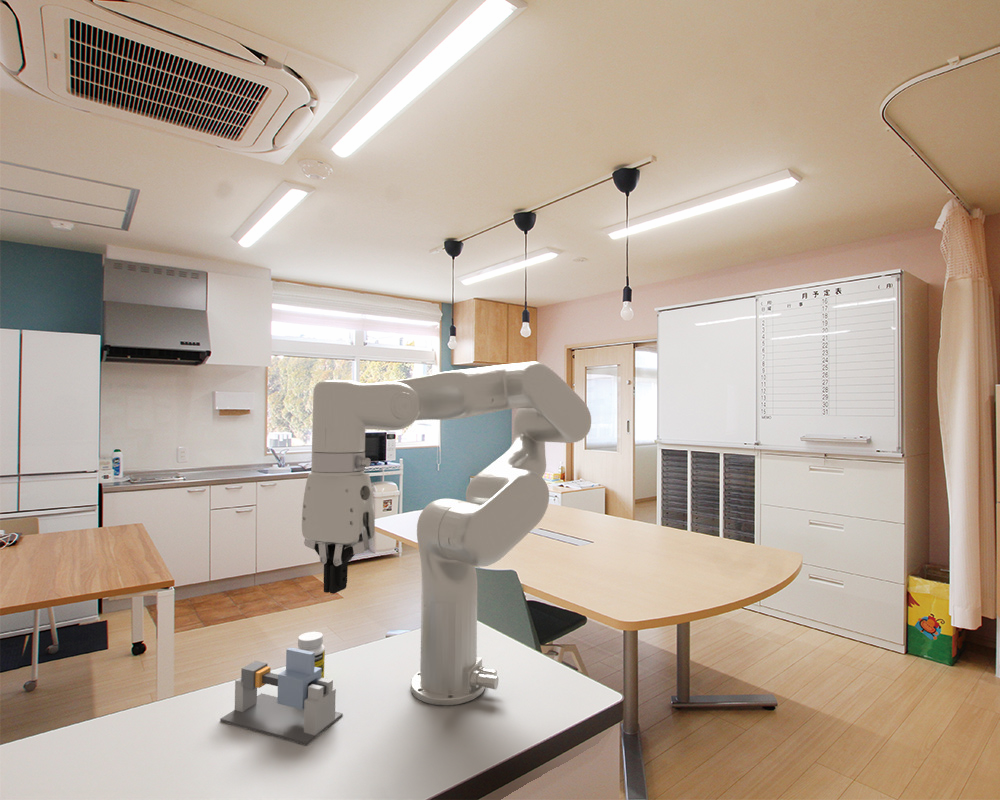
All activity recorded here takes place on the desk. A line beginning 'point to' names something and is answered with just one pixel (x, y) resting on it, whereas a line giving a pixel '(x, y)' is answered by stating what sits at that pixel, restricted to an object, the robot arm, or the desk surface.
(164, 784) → the desk surface
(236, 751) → the desk surface
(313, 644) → the supplement bottle
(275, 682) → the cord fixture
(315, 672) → the light blue step block
